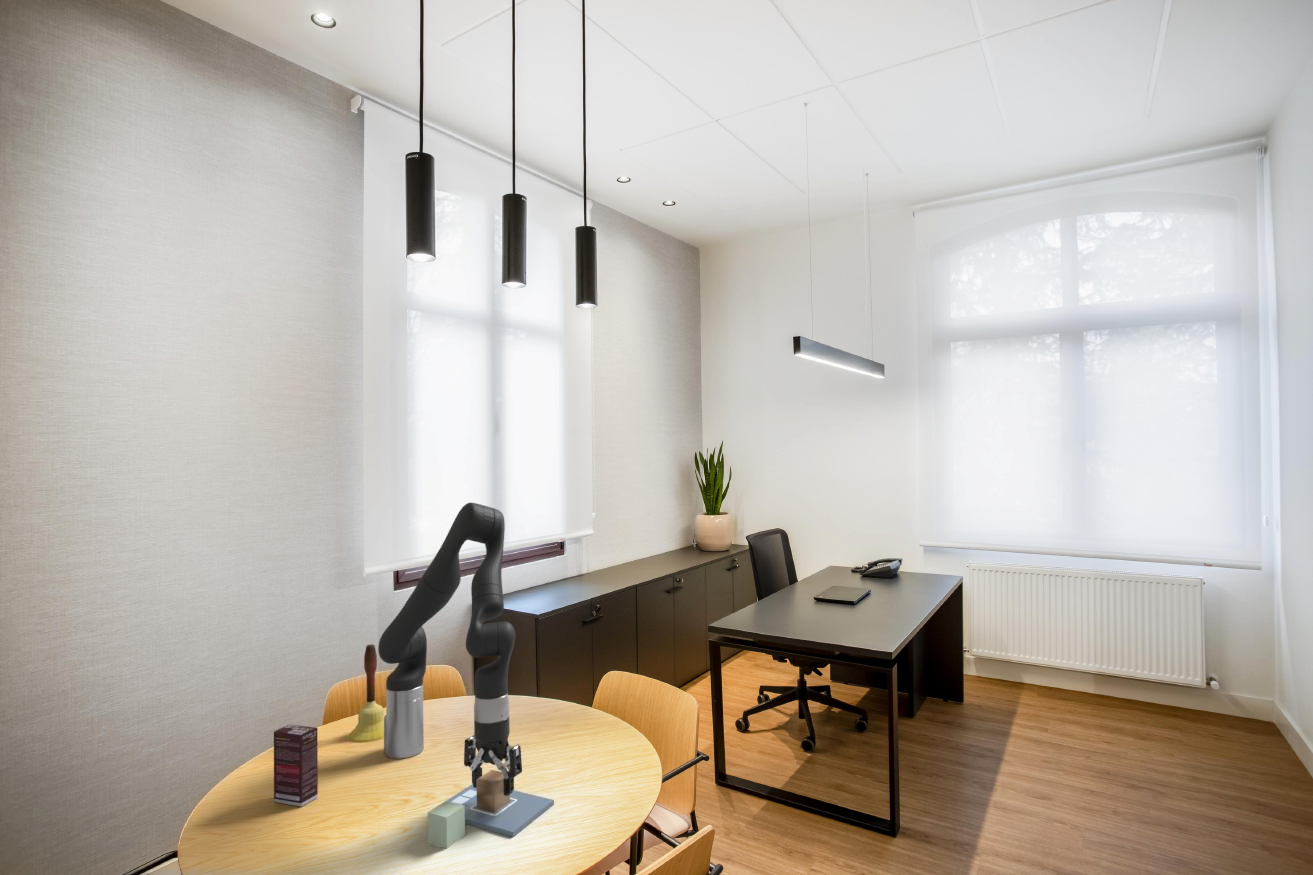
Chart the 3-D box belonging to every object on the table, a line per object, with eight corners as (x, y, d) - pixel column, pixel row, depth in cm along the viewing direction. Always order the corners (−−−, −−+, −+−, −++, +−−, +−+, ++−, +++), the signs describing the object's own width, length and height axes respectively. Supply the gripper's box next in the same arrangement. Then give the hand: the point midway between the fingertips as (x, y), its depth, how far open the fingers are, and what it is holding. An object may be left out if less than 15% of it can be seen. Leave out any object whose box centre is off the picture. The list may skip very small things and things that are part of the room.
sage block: (428, 842, 131) (427, 812, 132) (446, 830, 136) (446, 800, 136) (447, 848, 129) (446, 817, 130) (464, 835, 134) (464, 805, 134)
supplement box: (319, 797, 151) (318, 726, 152) (301, 807, 147) (301, 735, 148) (290, 792, 154) (290, 723, 155) (272, 802, 150) (272, 731, 150)
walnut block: (476, 807, 143) (476, 779, 143) (492, 796, 147) (491, 769, 147) (494, 812, 140) (494, 783, 141) (510, 801, 145) (509, 773, 145)
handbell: (337, 739, 185) (336, 648, 186) (371, 723, 196) (370, 638, 197) (370, 745, 180) (369, 652, 181) (403, 728, 191) (402, 641, 193)
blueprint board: (432, 813, 142) (432, 808, 142) (477, 785, 155) (477, 780, 155) (513, 836, 133) (513, 831, 133) (554, 804, 145) (553, 799, 145)
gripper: (455, 716, 144) (455, 791, 144) (506, 725, 138) (507, 805, 137) (478, 704, 151) (479, 776, 150) (528, 713, 145) (529, 788, 144)
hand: (492, 790), depth 144 cm, fingers open, 8 cm apart
